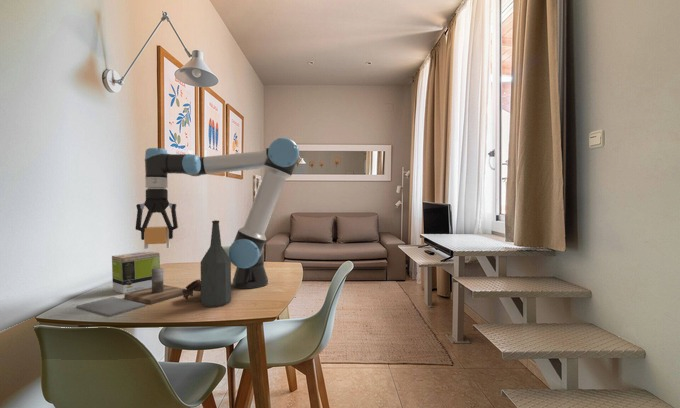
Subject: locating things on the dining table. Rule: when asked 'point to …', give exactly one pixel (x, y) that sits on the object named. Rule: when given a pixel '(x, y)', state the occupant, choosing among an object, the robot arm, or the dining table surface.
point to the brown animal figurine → (192, 288)
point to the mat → (111, 306)
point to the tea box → (134, 271)
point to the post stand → (155, 290)
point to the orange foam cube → (156, 235)
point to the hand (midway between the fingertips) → (157, 247)
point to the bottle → (215, 272)
